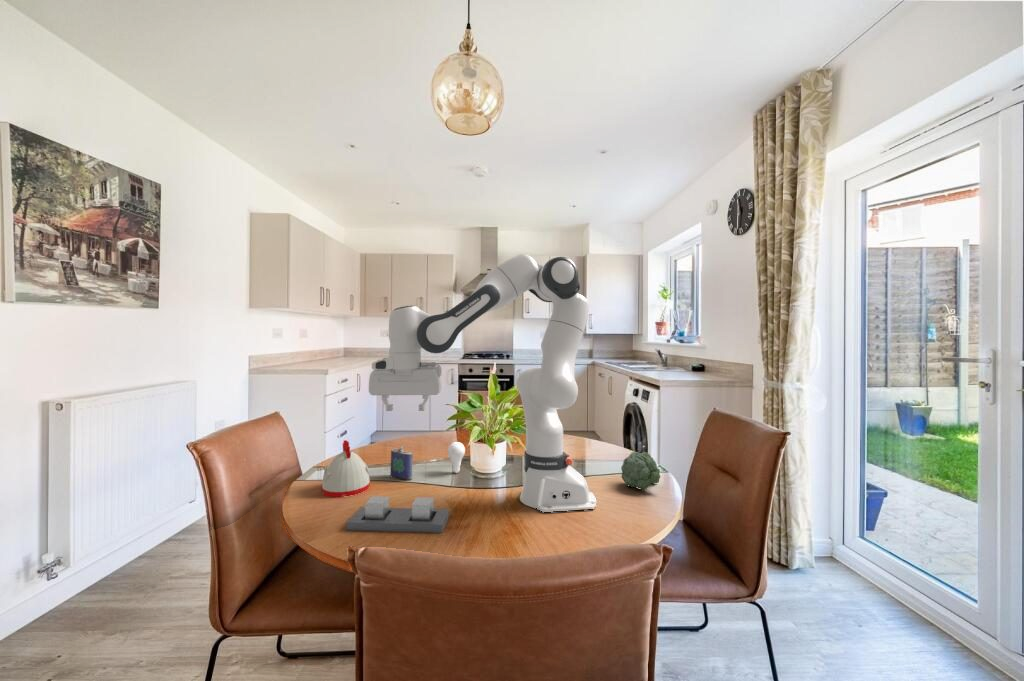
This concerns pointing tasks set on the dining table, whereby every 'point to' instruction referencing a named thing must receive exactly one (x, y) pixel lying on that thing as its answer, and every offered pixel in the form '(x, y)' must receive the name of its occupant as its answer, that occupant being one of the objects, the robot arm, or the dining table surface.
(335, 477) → the chicken hat
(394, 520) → the grey slotted board
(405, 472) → the flask
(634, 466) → the vegetable
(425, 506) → the light gray block
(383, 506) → the grey rectangular block
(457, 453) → the lightbulb
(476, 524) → the dining table surface
